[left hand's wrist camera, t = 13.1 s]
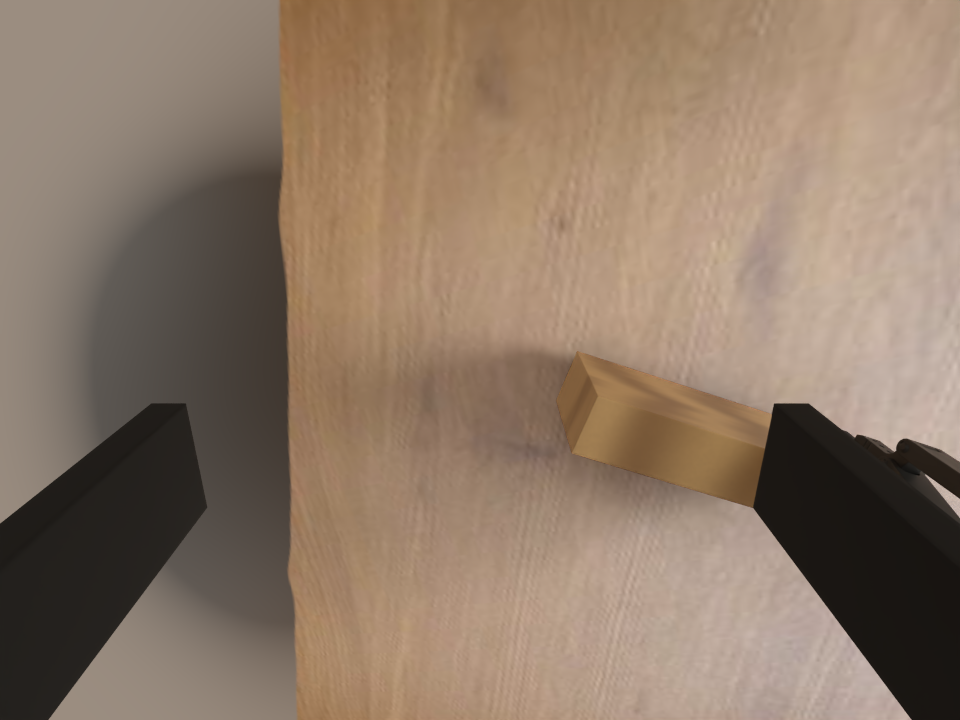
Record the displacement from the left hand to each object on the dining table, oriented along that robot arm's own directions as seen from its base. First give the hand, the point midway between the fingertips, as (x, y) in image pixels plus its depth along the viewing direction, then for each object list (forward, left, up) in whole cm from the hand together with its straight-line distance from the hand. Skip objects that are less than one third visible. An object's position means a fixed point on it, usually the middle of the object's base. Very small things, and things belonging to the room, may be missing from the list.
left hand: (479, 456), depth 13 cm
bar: (+9, +22, -30) cm, 38 cm away
